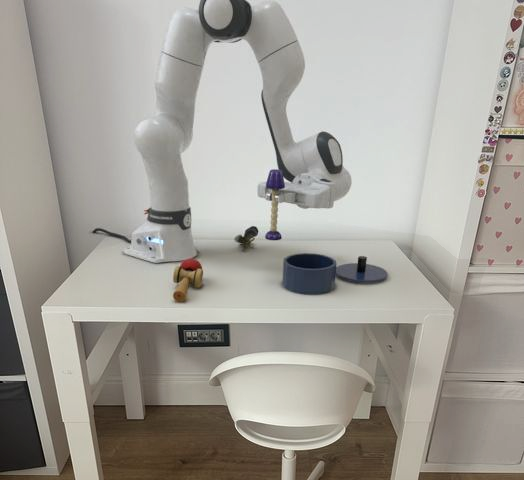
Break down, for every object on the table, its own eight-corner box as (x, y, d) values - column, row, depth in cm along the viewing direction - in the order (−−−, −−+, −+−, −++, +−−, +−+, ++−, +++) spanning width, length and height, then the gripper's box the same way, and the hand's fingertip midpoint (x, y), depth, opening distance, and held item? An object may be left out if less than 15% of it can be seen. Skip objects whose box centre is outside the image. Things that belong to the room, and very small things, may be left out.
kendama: (199, 307, 120) (210, 272, 135) (192, 284, 117) (204, 251, 131) (168, 311, 121) (182, 276, 136) (161, 288, 118) (176, 255, 132)
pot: (274, 288, 129) (274, 264, 126) (294, 273, 140) (295, 250, 137) (323, 298, 124) (325, 273, 121) (341, 281, 134) (343, 258, 131)
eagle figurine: (261, 248, 156) (263, 235, 163) (248, 230, 153) (251, 218, 160) (241, 259, 159) (244, 246, 166) (228, 241, 156) (232, 229, 163)
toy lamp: (286, 237, 128) (288, 169, 120) (277, 242, 124) (279, 172, 117) (270, 235, 130) (271, 167, 122) (261, 239, 127) (261, 170, 119)
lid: (326, 279, 136) (328, 260, 134) (343, 264, 148) (345, 246, 145) (379, 288, 130) (382, 269, 128) (392, 272, 142) (395, 254, 139)
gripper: (278, 173, 136) (242, 179, 127) (340, 183, 123) (305, 190, 114) (277, 197, 139) (242, 204, 130) (338, 208, 126) (304, 218, 117)
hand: (272, 198), depth 122 cm, fingers closed on toy lamp
